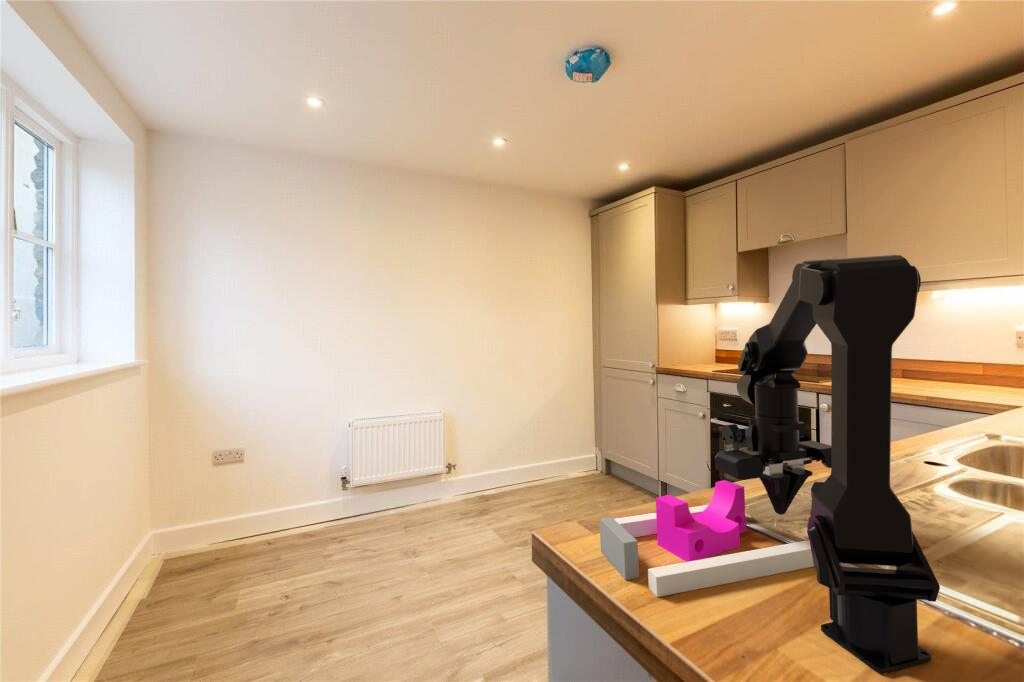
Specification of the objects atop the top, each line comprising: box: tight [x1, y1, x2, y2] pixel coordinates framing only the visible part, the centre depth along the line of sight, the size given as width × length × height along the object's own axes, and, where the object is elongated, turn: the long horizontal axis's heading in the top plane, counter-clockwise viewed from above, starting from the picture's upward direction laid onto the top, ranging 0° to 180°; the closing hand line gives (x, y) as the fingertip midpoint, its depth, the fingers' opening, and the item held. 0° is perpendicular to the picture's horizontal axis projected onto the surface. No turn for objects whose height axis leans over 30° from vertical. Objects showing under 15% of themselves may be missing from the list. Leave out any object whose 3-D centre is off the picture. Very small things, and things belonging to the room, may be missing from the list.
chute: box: [598, 504, 815, 598], centre depth 65 cm, size 17×28×5 cm, turn 102°
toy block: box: [655, 479, 747, 562], centre depth 68 cm, size 15×6×8 cm, turn 115°
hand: (779, 513), depth 69 cm, fingers closed
